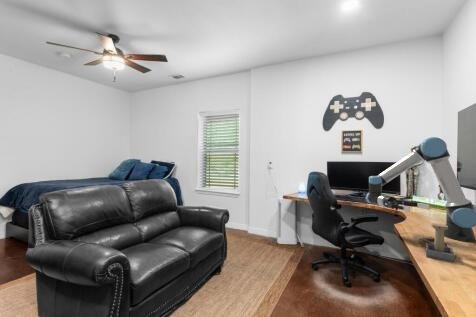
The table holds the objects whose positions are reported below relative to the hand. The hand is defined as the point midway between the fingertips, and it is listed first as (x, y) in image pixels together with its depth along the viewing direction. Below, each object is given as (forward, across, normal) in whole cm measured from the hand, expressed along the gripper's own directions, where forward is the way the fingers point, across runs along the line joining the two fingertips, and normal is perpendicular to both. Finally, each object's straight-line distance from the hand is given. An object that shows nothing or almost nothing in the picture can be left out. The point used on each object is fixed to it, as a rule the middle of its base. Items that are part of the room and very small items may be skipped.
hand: (419, 208), depth 131 cm
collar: (-1, -10, -22) cm, 25 cm away
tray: (+10, 0, -22) cm, 24 cm away
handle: (+10, 0, -22) cm, 24 cm away
